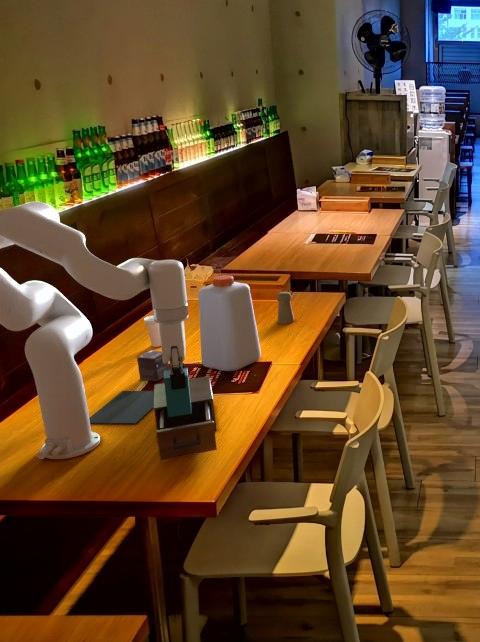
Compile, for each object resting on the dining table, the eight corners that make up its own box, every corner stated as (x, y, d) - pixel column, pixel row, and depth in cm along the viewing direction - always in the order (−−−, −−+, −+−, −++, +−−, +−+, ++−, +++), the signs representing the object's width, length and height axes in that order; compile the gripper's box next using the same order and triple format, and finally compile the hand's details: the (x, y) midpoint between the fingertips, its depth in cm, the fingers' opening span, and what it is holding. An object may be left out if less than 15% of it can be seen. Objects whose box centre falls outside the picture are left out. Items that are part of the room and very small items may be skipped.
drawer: (217, 457, 171) (214, 429, 169) (160, 469, 166) (156, 440, 164) (213, 424, 187) (210, 398, 185) (160, 433, 183) (157, 407, 181)
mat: (136, 424, 189) (136, 423, 189) (83, 424, 190) (83, 422, 189) (171, 392, 209) (171, 390, 208) (123, 392, 209) (122, 390, 209)
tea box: (191, 413, 176) (187, 375, 173) (168, 417, 174) (163, 378, 171) (191, 405, 180) (187, 367, 178) (168, 408, 178) (164, 370, 176)
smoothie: (171, 341, 249) (166, 302, 245) (163, 348, 243) (158, 308, 239) (152, 341, 248) (147, 302, 245) (144, 348, 242) (138, 308, 239)
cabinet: (216, 431, 186) (212, 398, 183) (158, 441, 180) (153, 408, 178) (213, 406, 199) (209, 376, 197) (159, 415, 194) (154, 384, 192)
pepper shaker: (274, 322, 267) (271, 294, 264) (283, 317, 272) (281, 289, 270) (288, 324, 265) (286, 295, 262) (297, 319, 271) (295, 291, 268)
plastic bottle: (267, 357, 234) (259, 274, 226) (232, 374, 221) (222, 286, 213) (231, 350, 240) (222, 268, 233) (196, 366, 227) (185, 280, 219)
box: (157, 381, 216) (154, 358, 214) (139, 380, 217) (136, 357, 215) (170, 373, 222) (167, 351, 220) (152, 372, 223) (149, 349, 221)
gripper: (153, 304, 177) (161, 373, 182) (152, 325, 162) (161, 400, 167) (187, 300, 180) (194, 369, 185) (189, 321, 165) (196, 395, 170)
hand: (178, 383), depth 175 cm, fingers closed on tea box, 5 cm apart
